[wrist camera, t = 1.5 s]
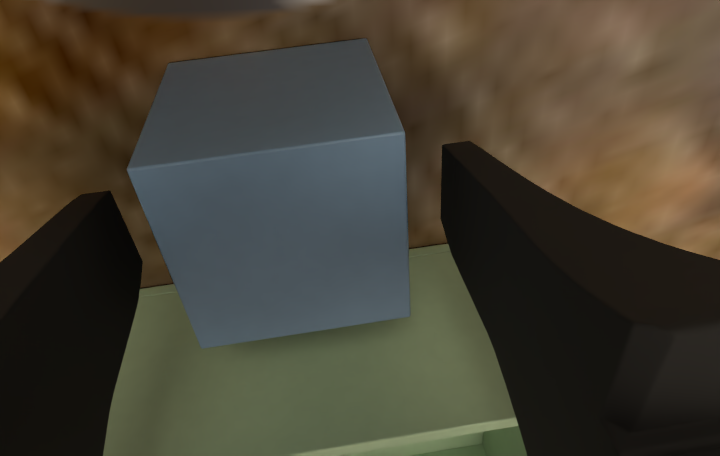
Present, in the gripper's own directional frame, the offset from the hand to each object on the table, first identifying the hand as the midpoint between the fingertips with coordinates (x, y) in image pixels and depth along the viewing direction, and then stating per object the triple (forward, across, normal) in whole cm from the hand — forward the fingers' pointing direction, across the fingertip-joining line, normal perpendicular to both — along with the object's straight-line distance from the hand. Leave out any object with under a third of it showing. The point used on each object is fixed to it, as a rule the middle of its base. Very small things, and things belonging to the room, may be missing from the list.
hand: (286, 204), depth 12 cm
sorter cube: (+3, 0, 0) cm, 3 cm away
